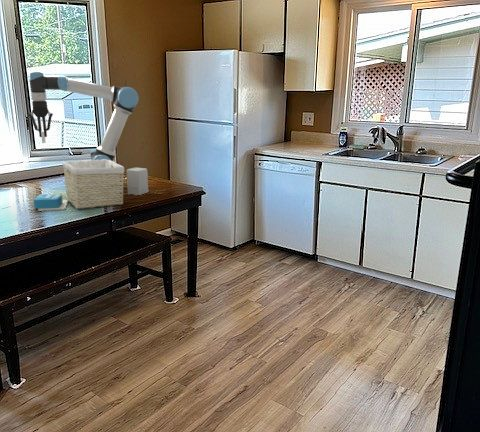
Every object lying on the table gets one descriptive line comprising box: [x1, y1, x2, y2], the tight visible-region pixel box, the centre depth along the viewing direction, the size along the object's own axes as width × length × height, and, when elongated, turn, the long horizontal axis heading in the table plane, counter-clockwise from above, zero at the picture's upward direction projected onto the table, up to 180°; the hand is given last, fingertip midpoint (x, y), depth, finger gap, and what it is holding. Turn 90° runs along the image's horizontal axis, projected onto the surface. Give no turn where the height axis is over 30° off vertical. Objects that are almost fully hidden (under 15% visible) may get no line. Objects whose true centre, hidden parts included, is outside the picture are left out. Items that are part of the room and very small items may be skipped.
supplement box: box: [125, 167, 149, 196], centre depth 262 cm, size 9×9×15 cm
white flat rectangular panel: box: [37, 199, 69, 212], centre depth 235 cm, size 13×18×1 cm
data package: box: [33, 193, 63, 209], centre depth 233 cm, size 12×4×12 cm
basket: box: [62, 159, 125, 209], centre depth 240 cm, size 27×27×22 cm
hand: (44, 142), depth 255 cm, fingers closed
